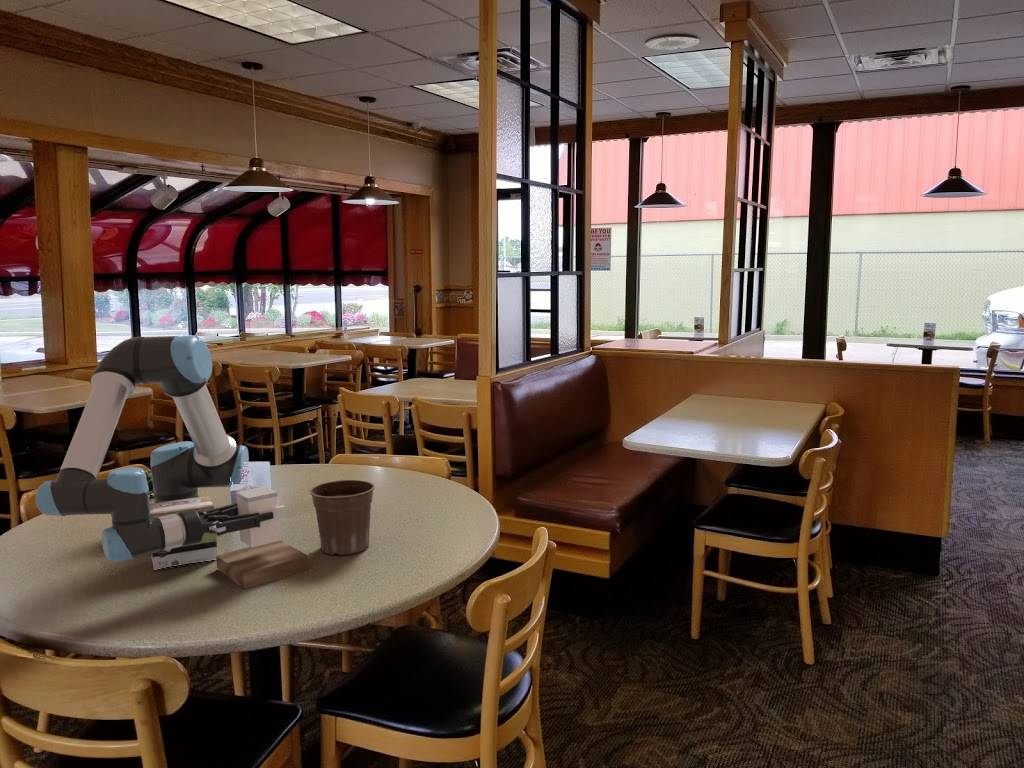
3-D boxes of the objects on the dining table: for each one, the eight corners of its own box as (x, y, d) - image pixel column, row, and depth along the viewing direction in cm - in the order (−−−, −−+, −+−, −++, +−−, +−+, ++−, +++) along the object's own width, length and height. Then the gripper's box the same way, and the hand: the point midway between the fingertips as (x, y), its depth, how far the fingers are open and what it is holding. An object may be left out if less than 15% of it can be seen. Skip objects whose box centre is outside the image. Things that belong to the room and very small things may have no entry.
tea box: (153, 572, 186) (147, 514, 184) (151, 559, 195) (145, 503, 192) (219, 560, 193) (214, 503, 190) (214, 548, 201) (209, 493, 199)
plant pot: (355, 532, 211) (352, 475, 208) (390, 546, 199) (386, 486, 197) (302, 548, 200) (298, 488, 197) (335, 564, 188) (331, 501, 186)
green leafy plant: (152, 511, 251) (172, 479, 254) (151, 515, 241) (172, 480, 244) (119, 496, 247) (139, 463, 250) (117, 499, 237) (138, 464, 240)
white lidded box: (239, 540, 185) (235, 492, 183) (268, 533, 190) (265, 486, 188) (251, 547, 180) (247, 498, 178) (280, 540, 184) (277, 492, 183)
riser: (217, 571, 187) (216, 555, 186) (279, 554, 197) (278, 539, 197) (244, 590, 175) (243, 573, 174) (308, 571, 186) (307, 555, 185)
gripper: (168, 534, 180) (262, 513, 195) (196, 557, 165) (296, 532, 180) (165, 504, 179) (260, 484, 194) (193, 524, 164) (294, 501, 179)
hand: (277, 507), depth 187 cm, fingers closed on white lidded box, 7 cm apart
